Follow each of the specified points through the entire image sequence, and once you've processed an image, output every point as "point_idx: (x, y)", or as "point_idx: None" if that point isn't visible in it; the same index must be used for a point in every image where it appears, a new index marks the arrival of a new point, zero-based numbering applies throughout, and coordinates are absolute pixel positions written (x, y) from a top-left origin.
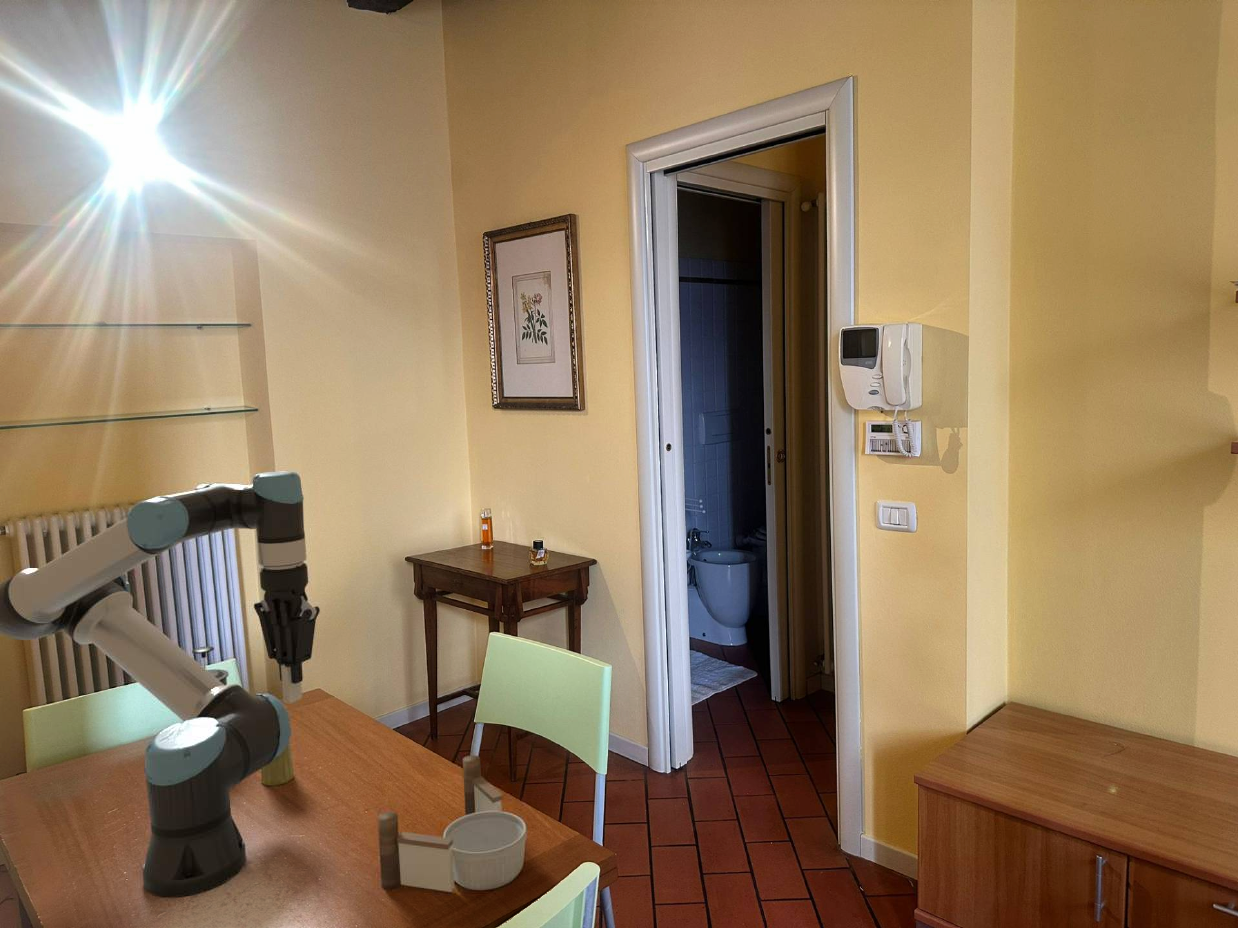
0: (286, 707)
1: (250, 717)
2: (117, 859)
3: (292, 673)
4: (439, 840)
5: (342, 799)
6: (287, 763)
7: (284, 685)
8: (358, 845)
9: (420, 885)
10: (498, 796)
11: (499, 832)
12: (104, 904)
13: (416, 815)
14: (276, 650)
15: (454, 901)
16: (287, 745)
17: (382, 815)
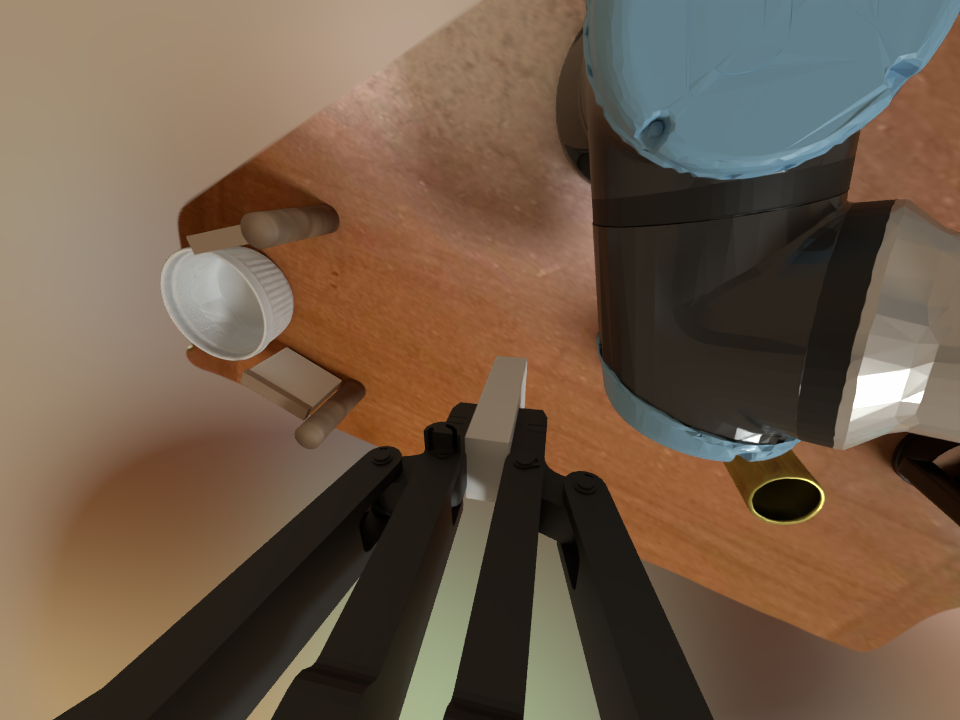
0: (755, 515)
1: (660, 313)
2: None
3: (466, 428)
4: (203, 241)
5: (558, 380)
6: None
7: (508, 388)
8: (439, 281)
9: None
10: (241, 378)
11: (255, 342)
12: None
13: (424, 373)
14: (533, 507)
15: (235, 219)
16: None
17: (267, 231)
